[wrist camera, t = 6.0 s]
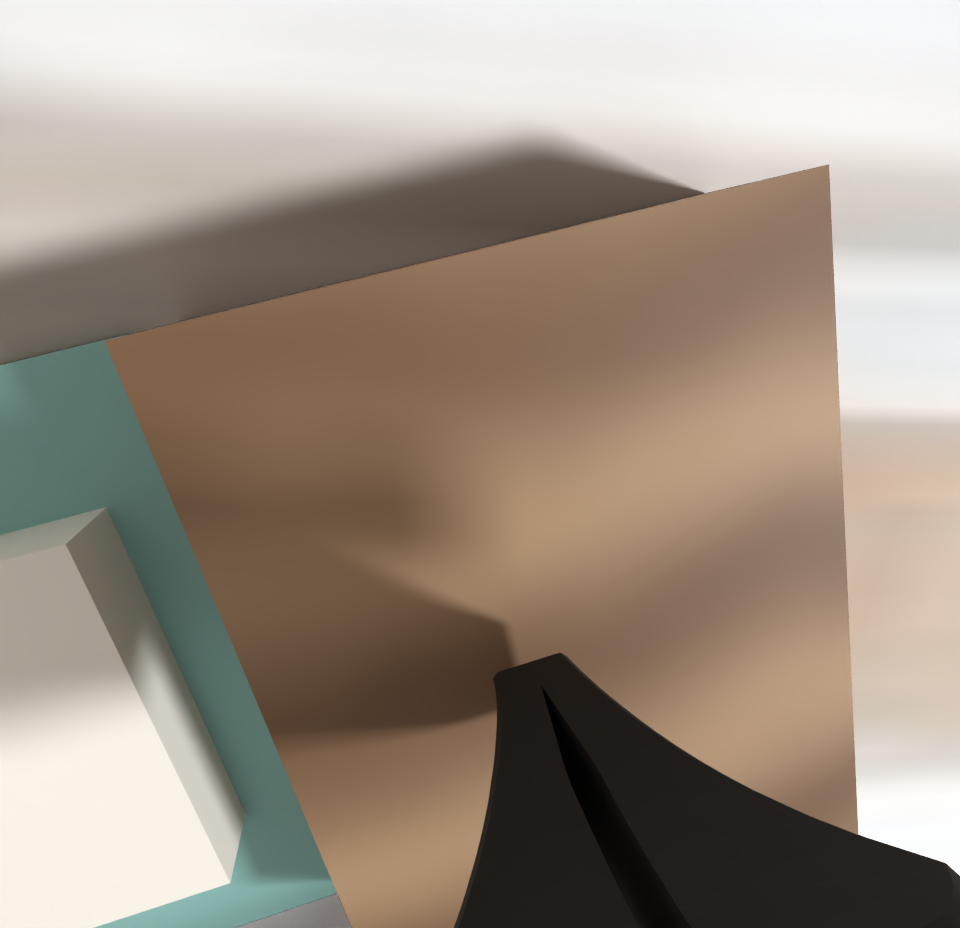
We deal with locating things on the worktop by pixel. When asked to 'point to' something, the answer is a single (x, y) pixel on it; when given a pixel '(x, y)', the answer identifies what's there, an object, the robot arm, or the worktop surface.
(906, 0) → the worktop surface
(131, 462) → the mat
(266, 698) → the board
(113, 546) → the cream white block
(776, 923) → the robot arm
